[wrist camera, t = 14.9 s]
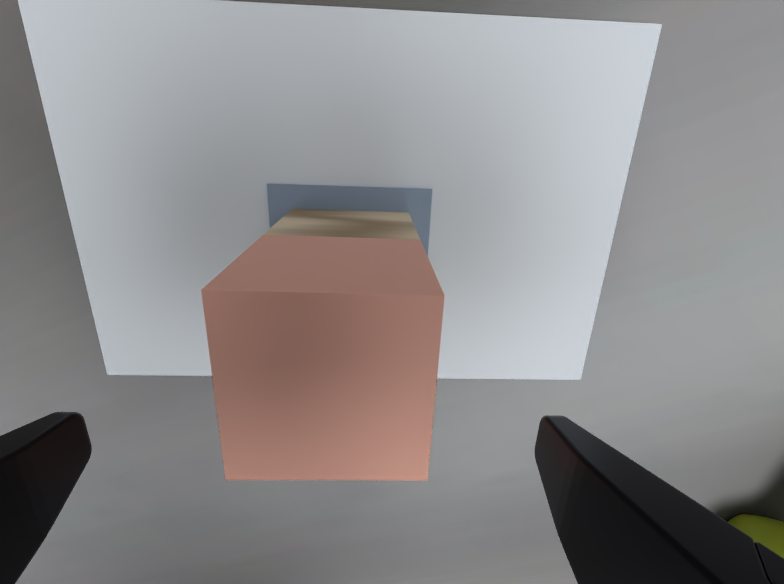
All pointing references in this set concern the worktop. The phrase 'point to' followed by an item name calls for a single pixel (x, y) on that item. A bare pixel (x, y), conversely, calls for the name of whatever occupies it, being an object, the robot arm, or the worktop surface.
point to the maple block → (345, 224)
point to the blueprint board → (341, 159)
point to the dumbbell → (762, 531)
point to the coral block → (325, 358)
